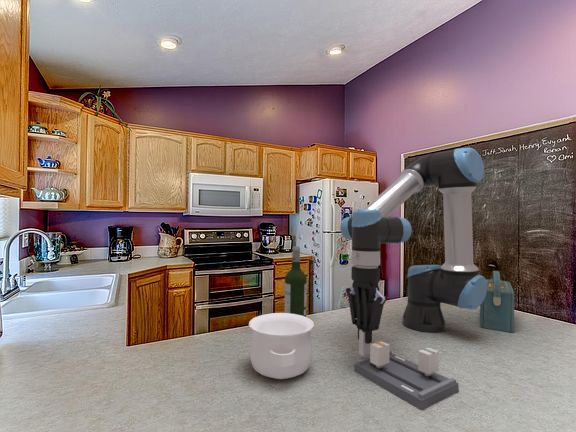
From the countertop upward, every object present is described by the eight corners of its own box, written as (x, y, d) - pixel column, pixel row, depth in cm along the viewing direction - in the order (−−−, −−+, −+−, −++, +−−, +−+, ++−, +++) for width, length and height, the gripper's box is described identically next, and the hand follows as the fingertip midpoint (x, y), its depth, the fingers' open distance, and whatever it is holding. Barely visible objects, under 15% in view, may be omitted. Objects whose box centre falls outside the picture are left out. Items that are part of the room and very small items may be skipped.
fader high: (417, 374, 77) (418, 349, 77) (427, 370, 80) (428, 346, 80) (428, 379, 75) (429, 354, 75) (438, 375, 77) (438, 350, 77)
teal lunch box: (515, 334, 113) (515, 278, 114) (479, 328, 119) (480, 275, 119) (510, 316, 135) (510, 269, 135) (480, 312, 141) (481, 266, 141)
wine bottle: (310, 330, 114) (311, 247, 114) (292, 335, 109) (293, 248, 109) (297, 324, 120) (298, 245, 120) (279, 328, 116) (281, 246, 116)
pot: (323, 388, 75) (323, 336, 75) (249, 394, 72) (250, 340, 72) (304, 350, 97) (304, 310, 97) (246, 353, 94) (247, 312, 94)
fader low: (369, 366, 81) (370, 343, 81) (380, 363, 83) (380, 340, 83) (378, 371, 79) (378, 346, 79) (389, 367, 81) (389, 343, 81)
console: (354, 371, 84) (354, 360, 84) (389, 359, 91) (389, 349, 91) (421, 410, 67) (421, 396, 67) (458, 391, 74) (458, 379, 74)
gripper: (338, 263, 89) (337, 348, 89) (374, 270, 78) (373, 366, 78) (358, 262, 93) (357, 342, 93) (394, 268, 82) (393, 359, 82)
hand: (364, 353), depth 85 cm, fingers closed
